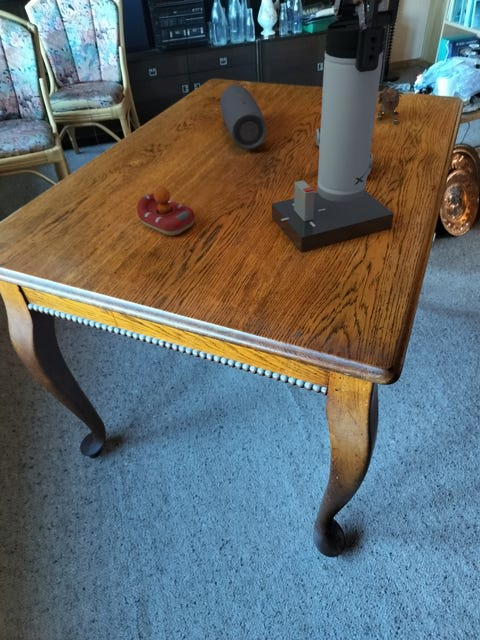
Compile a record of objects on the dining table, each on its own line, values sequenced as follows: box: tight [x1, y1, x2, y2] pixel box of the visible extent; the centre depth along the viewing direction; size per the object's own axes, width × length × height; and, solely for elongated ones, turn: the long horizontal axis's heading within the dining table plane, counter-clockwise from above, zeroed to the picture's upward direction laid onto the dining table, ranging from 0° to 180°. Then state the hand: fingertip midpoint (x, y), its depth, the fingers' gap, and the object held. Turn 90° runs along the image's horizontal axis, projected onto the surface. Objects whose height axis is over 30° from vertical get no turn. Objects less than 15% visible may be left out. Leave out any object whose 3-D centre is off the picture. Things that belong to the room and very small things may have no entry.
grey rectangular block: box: [293, 179, 316, 222], centre depth 82 cm, size 4×2×6 cm, turn 19°
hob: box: [271, 190, 395, 253], centre depth 86 cm, size 19×13×3 cm
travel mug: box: [316, 14, 387, 202], centre depth 55 cm, size 6×7×20 cm
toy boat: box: [136, 186, 196, 237], centre depth 88 cm, size 8×12×8 cm, turn 51°
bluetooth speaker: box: [219, 84, 268, 150], centre depth 117 cm, size 23×9×10 cm, turn 9°
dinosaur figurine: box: [376, 84, 405, 125], centre depth 120 cm, size 14×6×9 cm, turn 163°
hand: (354, 61), depth 52 cm, fingers closed on travel mug, 6 cm apart
